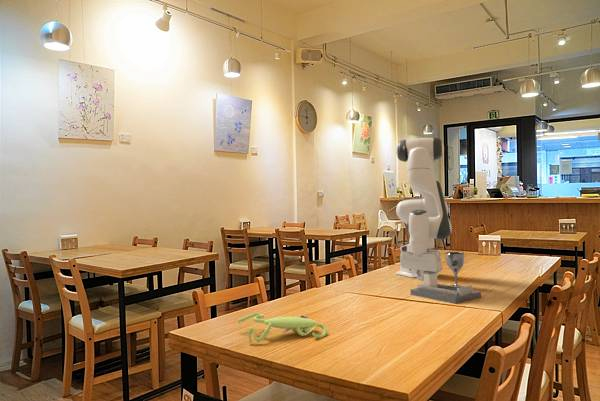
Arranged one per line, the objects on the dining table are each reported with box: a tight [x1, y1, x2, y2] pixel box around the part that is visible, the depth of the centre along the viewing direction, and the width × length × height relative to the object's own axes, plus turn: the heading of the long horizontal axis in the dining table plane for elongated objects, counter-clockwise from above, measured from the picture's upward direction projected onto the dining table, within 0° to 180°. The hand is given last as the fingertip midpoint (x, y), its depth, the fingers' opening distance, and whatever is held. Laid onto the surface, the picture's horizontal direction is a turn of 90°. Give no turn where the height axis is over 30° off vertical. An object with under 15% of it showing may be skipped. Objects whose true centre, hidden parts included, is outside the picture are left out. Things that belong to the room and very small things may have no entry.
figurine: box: [237, 313, 328, 344], centre depth 140 cm, size 18×27×6 cm
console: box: [410, 283, 482, 304], centre depth 181 cm, size 22×16×5 cm
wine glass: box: [445, 251, 466, 287], centre depth 198 cm, size 8×8×15 cm
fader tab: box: [423, 271, 439, 288], centre depth 187 cm, size 3×5×7 cm, turn 124°
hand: (421, 280), depth 191 cm, fingers closed
